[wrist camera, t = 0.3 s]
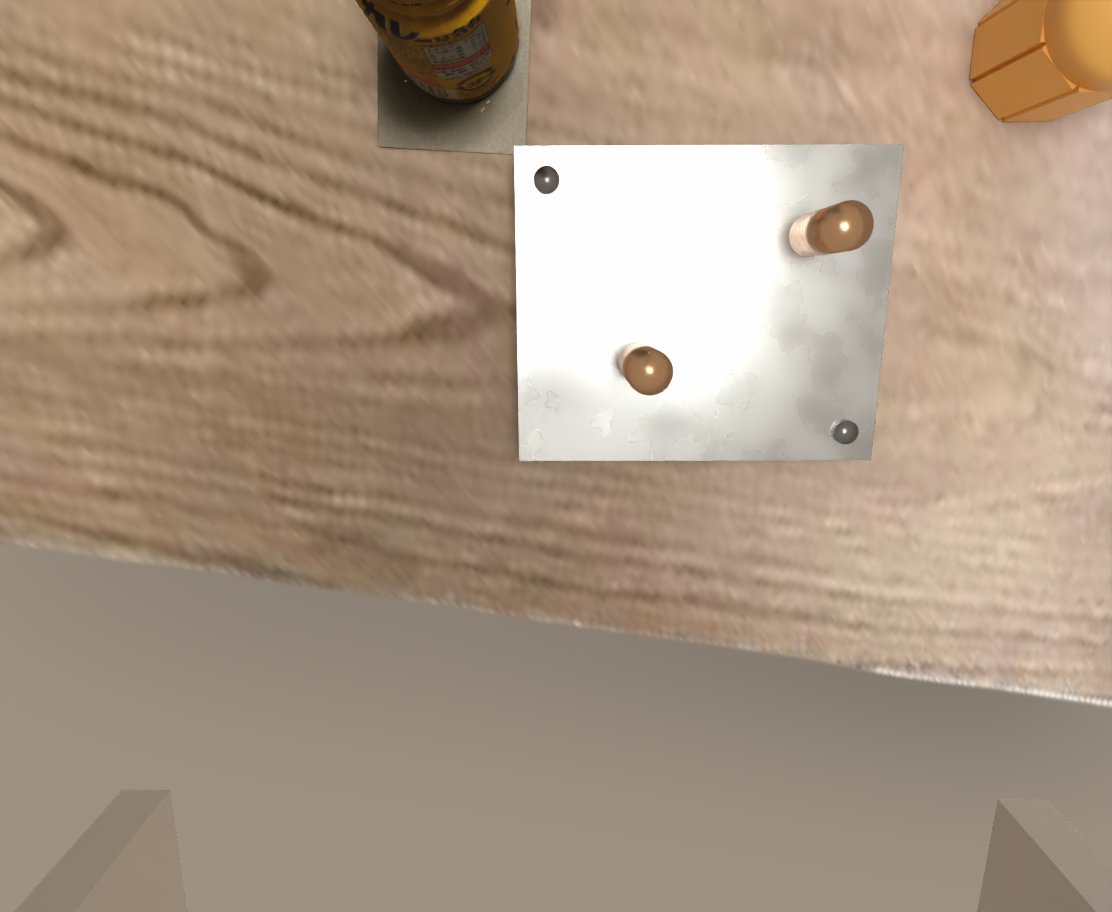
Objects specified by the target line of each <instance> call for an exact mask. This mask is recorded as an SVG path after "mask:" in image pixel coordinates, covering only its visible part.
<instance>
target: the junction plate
mask: <svg viewBox="0 0 1112 912" xmlns="http://www.w3.org/2000/svg"><path fill="white" fill-rule="evenodd" d="M903 150H904V144H840V145H626V146H514V170H515V232H516V295H517V357H518V419H519V461H768V460H871V455H872V445H873V436H874V426H875V417H876V407H877V398H878V388H879V379H880V369H881V360H882V350H883V341H884V331H885V322H886V312H887V302H888V293H889V283H890V274H891V264H892V255H893V245H894V236H895V226H896V217H897V207H898V198H899V188H900V179H901V169H902V160H903Z"/></svg>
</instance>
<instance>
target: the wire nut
mask: <svg viewBox="0 0 1112 912" xmlns="http://www.w3.org/2000/svg"><path fill="white" fill-rule="evenodd" d="M979 25H980V26H979V27H978V28H976V29H975V38H974V46H973V54H972V62H971V70H970V78H969V80H972V79H976V80H975V81H974V82H973V83H972V84H971V86H972V87H973V88H974V90H975V91H976V92H977V94H978V95H979V96H980V97H981V99H982V100H983V101H984V102H985V104H986V105H987V106H988V107H989V109H990V110H991V111H992V112H993V114H994V115H995V116H996V117H997V119H998V120H999V119H1001V118H1003V117H1004V118H1003V122H1048V121H1051V120H1054V119H1057V118H1059V117H1062V116H1065V115H1068V114H1070V113H1073V112H1076V111H1079V110H1082V109H1084V108H1087V107H1090V106H1093V105H1096V104H1098V103H1101V102H1104V101H1107V100H1110V99H1112V0H1001V1H1000V2H999V3H998V4H997V5H996V6H995V7H994V8H993V9H992V10H991V11H990V12H989V13H988V14H987V15H986V16H985V17H984V18H983V19H982V20H981V21H980V22H979Z"/></svg>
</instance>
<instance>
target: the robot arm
mask: <svg viewBox="0 0 1112 912" xmlns="http://www.w3.org/2000/svg"><path fill="white" fill-rule="evenodd" d="M14 912H187V907H186V899H185V892H184V886H183V878H182V872H181V864H180V857H179V851H178V843H177V836H176V829H175V822H174V815H173V809H172V801H171V794H170V790H121V791H120V793H119V794H118V795H117V796H116V797H115V798H114V799H113V801H112V802H111V803H110V804H109V805H108V806H107V807H106V808H105V810H104V811H103V812H102V813H101V814H100V815H99V817H97V819H96V820H95V821H94V822H93V823H92V824H91V825H90V826H89V828H88V829H87V830H86V831H85V832H84V833H83V835H82V836H81V837H80V838H79V839H78V840H77V841H76V842H75V843H74V844H73V846H72V847H71V848H70V849H69V850H68V851H67V852H66V854H65V855H64V856H63V857H62V858H61V859H60V860H59V861H58V863H57V864H56V865H55V866H54V867H53V868H52V869H51V870H50V872H49V873H48V874H47V875H46V876H45V877H44V878H43V879H42V881H41V882H40V883H39V884H38V885H37V886H36V887H35V888H34V890H33V891H32V892H31V893H30V894H29V895H28V896H27V898H26V899H25V900H24V901H23V902H22V903H21V904H20V906H19V907H18V908H17V909H16V910H15V911H14ZM977 912H1112V867H1111V866H1110V865H1109V864H1108V863H1107V862H1106V861H1105V860H1104V859H1103V858H1102V856H1100V855H1099V854H1098V853H1097V851H1096V850H1095V849H1094V848H1093V847H1092V846H1091V845H1090V844H1089V843H1088V842H1087V841H1086V840H1085V839H1084V838H1083V837H1082V836H1081V835H1080V834H1079V833H1078V832H1077V831H1076V830H1075V829H1074V827H1072V826H1071V824H1070V823H1068V821H1067V820H1066V819H1065V818H1064V817H1063V816H1062V815H1061V814H1060V813H1059V812H1058V811H1057V810H1056V809H1055V808H1054V807H1053V806H1052V805H1051V804H1050V803H1049V802H1048V801H1047V800H1046V799H998V800H997V806H996V811H995V817H994V822H993V828H992V834H991V839H990V844H989V850H988V856H987V861H986V866H985V872H984V878H983V883H982V889H981V894H980V899H979V905H978V910H977Z"/></svg>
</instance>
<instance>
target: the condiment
mask: <svg viewBox="0 0 1112 912" xmlns="http://www.w3.org/2000/svg"><path fill="white" fill-rule="evenodd" d="M356 2H357V3H358V5H359V7H360V8H361V9H362V10H363V12H364V14H365V15H366V17H367V18H368V19H369V21H370V22H371V24H372V25H373V27H374V29H375V30H376V31H377V33H378V146H382V147H396V148H410V149H428V150H443V151H461V152H483V153H498V154H501V153H502V154H514V146H526V128H527V98H528V74H529V50H530V24H531V0H356ZM404 80H407V82H404ZM487 100H491V103H489V104H486V101H487ZM484 106H485V107H486V109H485V110H484V112H480V110H481V108H482V107H484Z"/></svg>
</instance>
